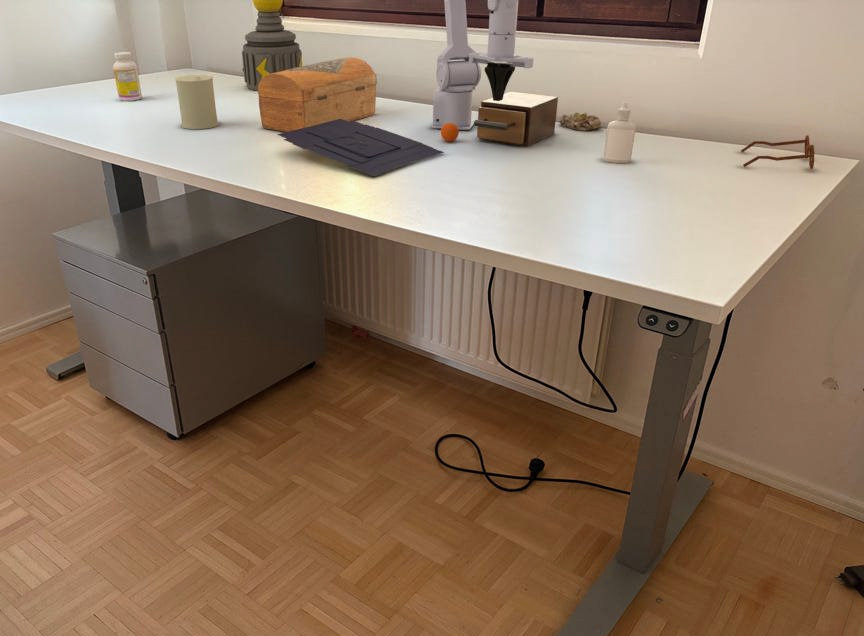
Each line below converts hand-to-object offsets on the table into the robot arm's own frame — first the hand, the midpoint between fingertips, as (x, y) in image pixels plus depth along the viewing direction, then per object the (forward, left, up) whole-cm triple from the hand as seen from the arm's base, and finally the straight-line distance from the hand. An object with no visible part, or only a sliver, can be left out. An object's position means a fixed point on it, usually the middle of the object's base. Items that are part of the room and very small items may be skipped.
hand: (497, 100), depth 164 cm
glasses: (+59, +1, -10) cm, 60 cm away
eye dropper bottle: (+27, -6, -10) cm, 29 cm away
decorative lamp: (-79, +60, -10) cm, 100 cm away
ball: (-11, +2, -8) cm, 14 cm away
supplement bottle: (-113, +31, -10) cm, 118 cm away
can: (-76, +4, -10) cm, 77 cm away
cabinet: (+4, +11, -10) cm, 15 cm away
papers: (-28, -14, -10) cm, 33 cm away
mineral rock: (+18, +25, -10) cm, 32 cm away
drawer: (+2, +6, -9) cm, 11 cm away
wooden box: (-48, +16, -10) cm, 52 cm away
